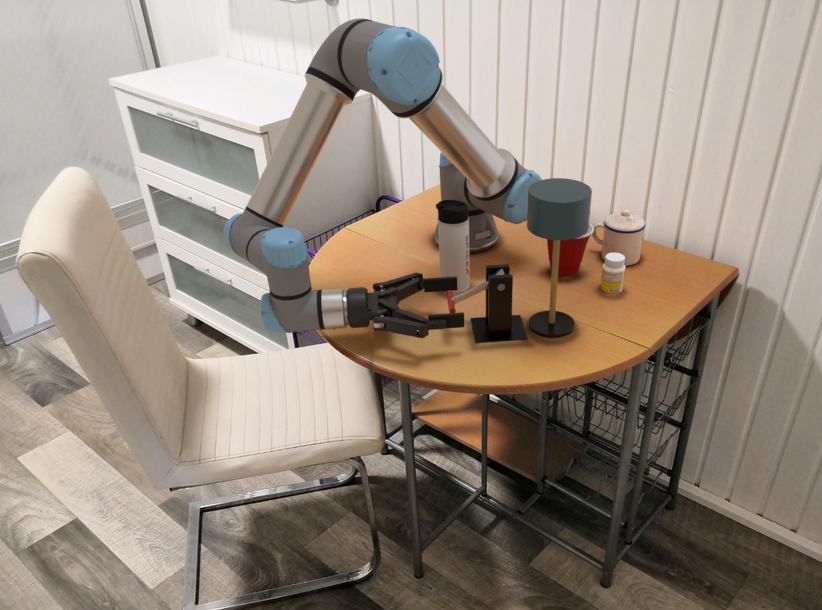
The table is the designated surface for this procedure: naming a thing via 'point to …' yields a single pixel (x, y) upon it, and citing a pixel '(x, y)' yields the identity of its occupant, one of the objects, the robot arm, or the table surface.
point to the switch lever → (468, 293)
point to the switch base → (498, 310)
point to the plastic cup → (570, 253)
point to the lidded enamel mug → (622, 235)
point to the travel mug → (454, 242)
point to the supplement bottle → (613, 273)
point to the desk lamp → (557, 238)
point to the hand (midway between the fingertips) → (460, 300)
